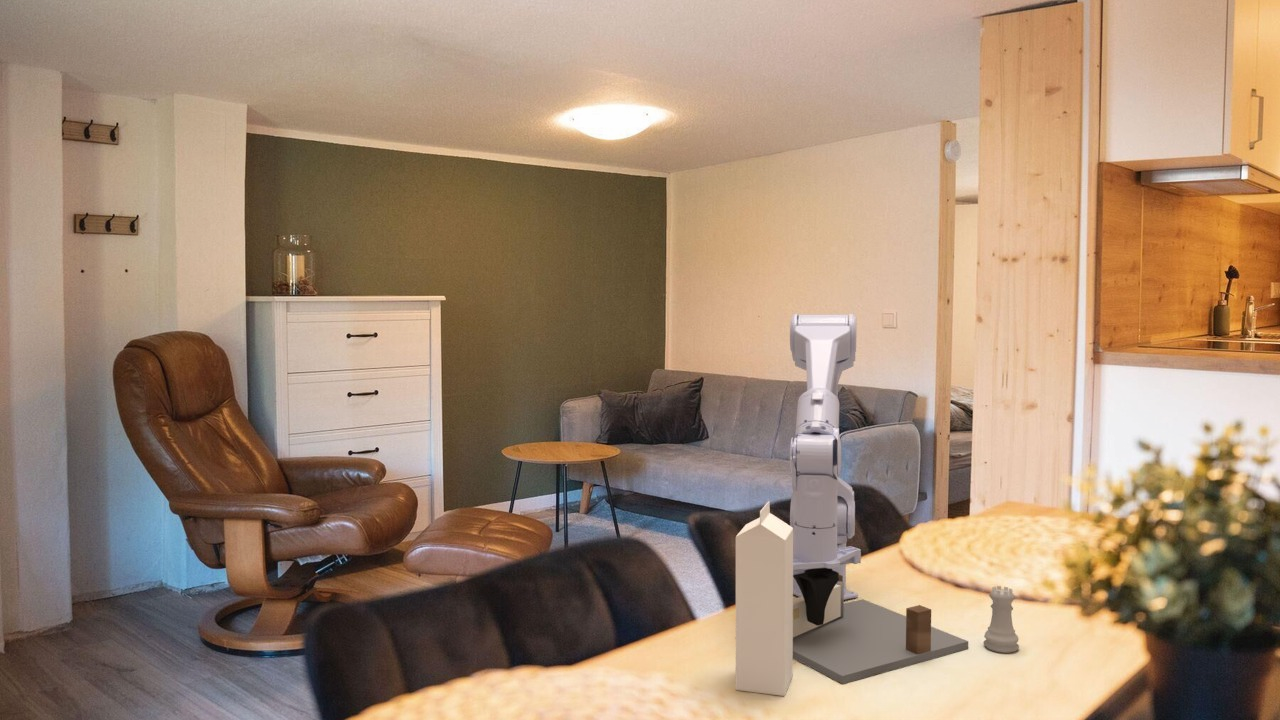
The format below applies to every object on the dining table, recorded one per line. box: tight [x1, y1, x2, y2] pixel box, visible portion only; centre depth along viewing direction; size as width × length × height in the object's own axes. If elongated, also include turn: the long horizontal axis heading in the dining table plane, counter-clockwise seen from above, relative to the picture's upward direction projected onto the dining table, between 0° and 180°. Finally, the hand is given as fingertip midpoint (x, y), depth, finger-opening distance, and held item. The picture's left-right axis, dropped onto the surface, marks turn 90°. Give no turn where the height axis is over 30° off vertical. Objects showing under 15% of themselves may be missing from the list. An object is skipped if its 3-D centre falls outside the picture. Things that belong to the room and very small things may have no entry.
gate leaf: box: [793, 581, 845, 637], centre depth 132 cm, size 13×2×5 cm, turn 135°
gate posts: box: [838, 575, 932, 654], centre depth 131 cm, size 19×2×6 cm, turn 30°
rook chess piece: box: [983, 585, 1020, 654], centre depth 127 cm, size 4×4×8 cm
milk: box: [735, 500, 794, 697], centre depth 115 cm, size 6×6×22 cm
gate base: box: [793, 598, 969, 685], centre depth 130 cm, size 20×22×1 cm
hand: (815, 622), depth 128 cm, fingers closed, pressing on gate leaf
